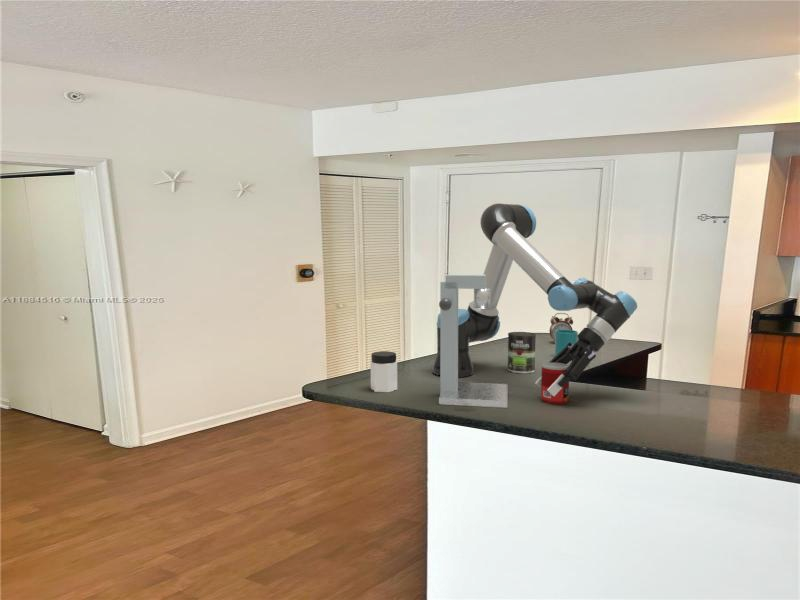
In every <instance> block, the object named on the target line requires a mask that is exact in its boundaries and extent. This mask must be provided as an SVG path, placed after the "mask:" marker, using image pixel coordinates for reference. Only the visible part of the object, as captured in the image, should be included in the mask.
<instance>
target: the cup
mask: <svg viewBox="0 0 800 600" xmlns="http://www.w3.org/2000/svg"><path fill="white" fill-rule="evenodd" d="M578 334H579V332H578V330H573V329H572V330H556V331H555V344H554V357H555V356H556V355H557V354H559V353H560V352H561V351H562V350H563V349H564V348H565V347H566V345H567V344H568V343H571V344H573V345H574V344H575V343H576V342H578V341H579V339H578Z"/></svg>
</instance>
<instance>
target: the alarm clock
mask: <svg viewBox="0 0 800 600" xmlns="http://www.w3.org/2000/svg"><path fill="white" fill-rule="evenodd" d="M557 315H567V317H565V318H564V319H563V318H559V317H558V316H557ZM550 324H551V325H550V327H549V331H548V332H549V335H550V337H551V339H552V340H553V343H555V331H556V330H573V327H572V325H573V324H574V320H573V317H572V316H569V314H567V313H565V312H557V313H555V314H554V316H551V318H550Z"/></svg>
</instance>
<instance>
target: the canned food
mask: <svg viewBox="0 0 800 600" xmlns="http://www.w3.org/2000/svg"><path fill="white" fill-rule="evenodd" d="M569 365H570V364H568V363H567V364H563V363H549V362H545V363H542V364H541V375H540V377H541V388H540V389H541V391H540V392H541V393H540V394H541V395H540V396H541V397H540V398H541V400H542V402H544V403H547V404H551V403H553V405H562V404H563V403H564V404H567V403H568V401H569V394H570V391H569V389H570V380H569V381H568V382H567V383H566V384H565V385H564V387H563V388H562V389H561V390H560V391H559V392H558V393H557V394H556V395H555V396H553V395H552V394H551V393H550V392H549V391H548V390H547V389H548V388H549V387H550V386H551V385H552V384H553V383H554V382H555V381H556V380H557V379H558V378H559V376H560V375H561V374H563V372H566V370H567V369H568V367H569ZM563 375H564V374H563ZM564 376H565V375H564Z"/></svg>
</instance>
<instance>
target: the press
mask: <svg viewBox="0 0 800 600" xmlns="http://www.w3.org/2000/svg"><path fill="white" fill-rule="evenodd" d="M444 277H445V279H444V280H442V281H440V282H439V283H440V289H439V290H440V297H439V298H440V300H439V303H438V305H439V308H440V312H439V313H440V376H439V377H440V379H439V380H440V381H439V382H440V384H439V385H440V386H439V387H440V389H439V390H440V394H439V396H438V404H439V405H445V406H447V405H449V406H462V407H463V406H466V407H484V408H504V409H505V408H506V409H508V398H509V397H508V393H509V392H508V391H509V390H508V387H509V386H508V383H490V382H487V383H486V382H469V381H468V382H466V381H465V382H464V381H459V377H458V309H459V290H460V289H463V290H464V289H466V290H467V289H469V290H473V301H474V308H478V309H487V308H490V288H486V275H483V274H445V276H444Z"/></svg>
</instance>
